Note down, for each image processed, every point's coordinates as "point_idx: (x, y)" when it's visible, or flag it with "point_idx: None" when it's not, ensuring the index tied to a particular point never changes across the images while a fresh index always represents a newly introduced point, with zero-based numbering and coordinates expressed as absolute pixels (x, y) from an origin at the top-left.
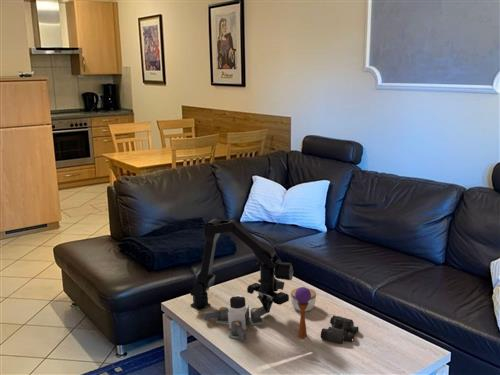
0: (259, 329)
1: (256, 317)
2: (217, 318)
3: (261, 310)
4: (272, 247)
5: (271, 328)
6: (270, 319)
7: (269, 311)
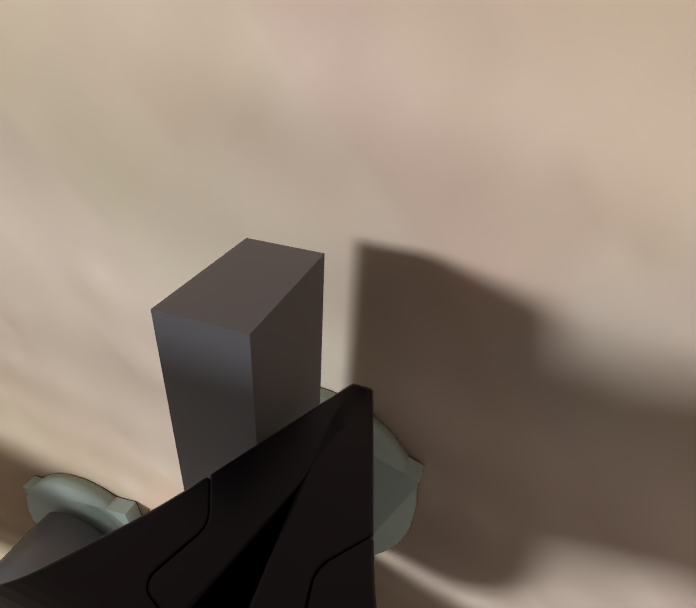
0: (483, 602)
1: None
2: None
3: None
4: None
5: (629, 563)
6: (457, 346)
7: (323, 269)
